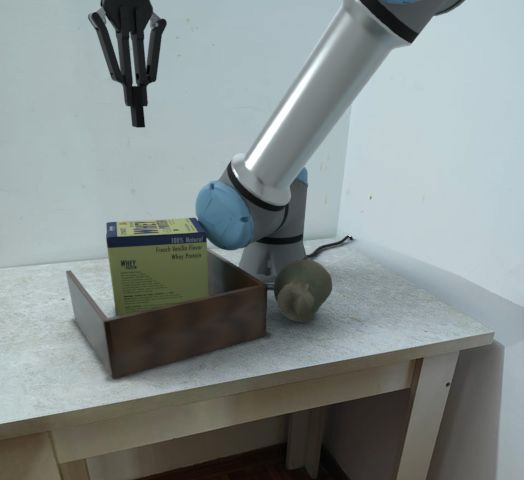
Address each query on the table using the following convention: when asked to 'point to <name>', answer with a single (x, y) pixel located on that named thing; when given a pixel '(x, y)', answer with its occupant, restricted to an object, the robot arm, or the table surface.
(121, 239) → the protein box
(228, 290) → the compartment
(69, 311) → the table surface
